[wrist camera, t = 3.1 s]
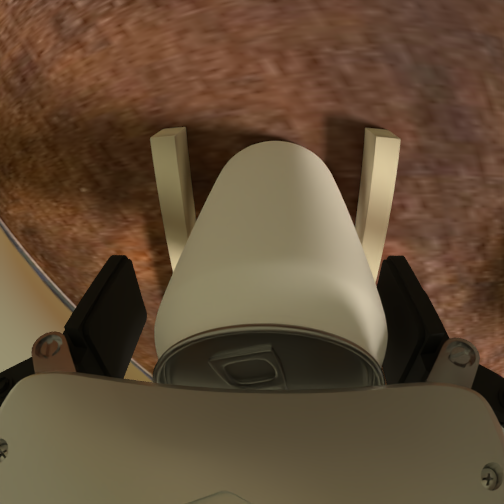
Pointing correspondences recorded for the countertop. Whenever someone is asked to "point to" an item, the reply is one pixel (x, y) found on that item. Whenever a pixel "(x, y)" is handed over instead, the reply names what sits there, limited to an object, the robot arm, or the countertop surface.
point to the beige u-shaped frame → (369, 203)
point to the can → (272, 284)
